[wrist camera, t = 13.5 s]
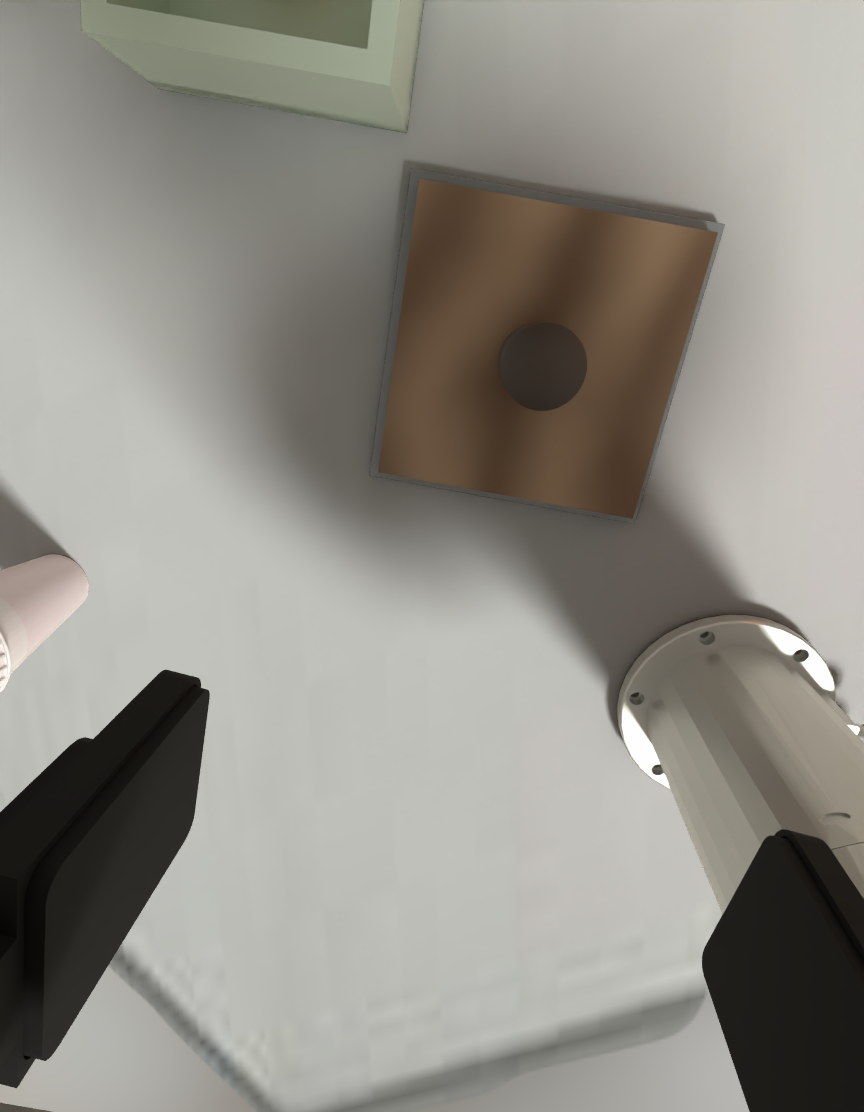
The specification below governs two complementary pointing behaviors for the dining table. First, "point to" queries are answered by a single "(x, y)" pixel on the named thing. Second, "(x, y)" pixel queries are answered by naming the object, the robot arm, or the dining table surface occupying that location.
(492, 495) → the mat
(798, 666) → the robot arm
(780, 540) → the dining table surface
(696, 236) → the lid
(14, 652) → the smoothie
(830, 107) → the dining table surface
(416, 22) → the dish
